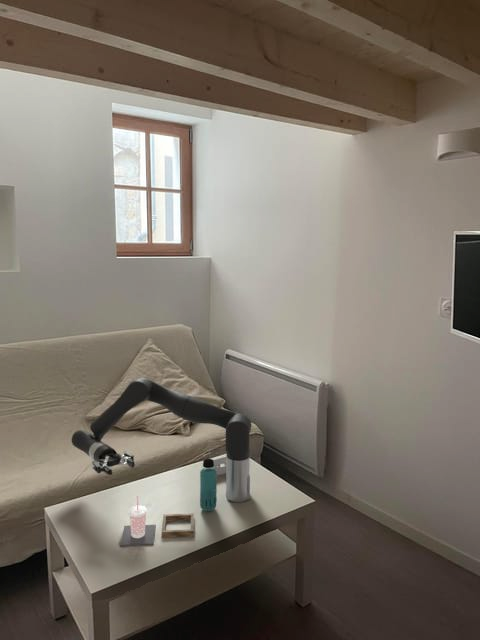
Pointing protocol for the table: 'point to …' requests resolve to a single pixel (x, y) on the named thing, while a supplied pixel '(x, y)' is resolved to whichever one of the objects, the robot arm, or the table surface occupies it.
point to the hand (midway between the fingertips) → (122, 468)
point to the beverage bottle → (208, 485)
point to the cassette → (217, 466)
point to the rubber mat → (145, 540)
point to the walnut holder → (177, 532)
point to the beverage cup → (137, 520)
